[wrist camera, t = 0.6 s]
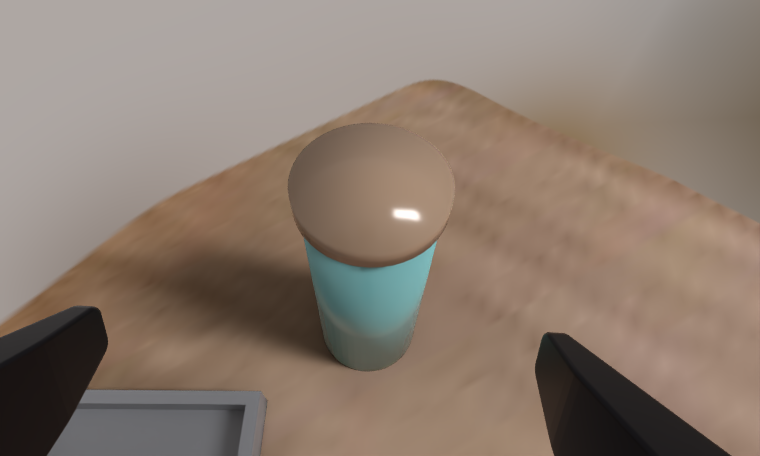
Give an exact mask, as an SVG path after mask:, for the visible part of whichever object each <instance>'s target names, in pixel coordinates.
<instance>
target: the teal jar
mask: <svg viewBox="0 0 760 456" xmlns="http://www.w3.org/2000/svg"><path fill="white" fill-rule="evenodd" d="M288 194H289V200H290V204H291V209H292V213H293V217H294V220H295V223H296V225H297V227H298V229H299V231H300V232H301V234H302V235H303V237H304V242H305V247H306V251H307V256H308V261H309V266H310V271H311V276H312V281H313V286H314V291H315V296H316V301H317V306H318V311H319V316H320V321H321V326H322V331H323V336H324V339H325V343H326V345H327V347H328V349H329V351H330V352H331V354H332V355H333V356H334V357H335V358H336V359H337V360H338V361H339V362H341V363H342V364H343V365H345V366H347V367H349V368H352V369H355V370H359V371H376V370H381V369H384V368H386V367H388V366H391V365H392V364H394V363H395V362H397V361H398V360H399V359H400V358H401V357H402V356H403V355H404V353H405V352H406V350H407V349H408V347H409V345H410V342H411V339H412V335H413V331H414V327H415V324H416V320H417V316H418V312H419V308H420V304H421V300H422V296H423V292H424V289H425V285H426V281H427V277H428V273H429V269H430V265H431V261H432V257H433V254H434V250H435V246H436V242H437V240H438V238H439V237H440V236H441V234H442V233H443V231H444V229H445V227H446V225H447V222H448V219H449V216H450V212H451V208H452V205H453V201H454V195H455V182H454V177H453V173H452V171H451V168H450V166H449V164H448V162H447V160H446V159H445V157H444V156H443V155H442V153H441V152H440V151H439V150H438V149H437V148H436V147H435V146H434V145H433V144H431V143H430V142H429V141H428V140H426V139H424V138H423V137H421V136H420V135H418V134H416V133H414V132H412V131H409V130H406V129H404V128H401V127H397V126H393V125H387V124H379V123H361V124H353V125H348V126H343V127H340V128H337V129H334V130H332V131H329V132H327V133H325V134H323V135H321V136H320V137H318V138H316V139H315V140H314V141H312V142H311V143H310V144H309V145H307V146H306V147H305V148H304V149H303V150H302V152H301V153H300V154H299V155H298V157H297V158H296V160H295V162H294V164H293V166H292V168H291V171H290V175H289V179H288Z"/></svg>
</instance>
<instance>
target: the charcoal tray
mask: <svg viewBox="0 0 760 456" xmlns="http://www.w3.org/2000/svg"><path fill="white" fill-rule="evenodd" d="M266 408H267V399H266V398H265V396H264V395H263V394H262V392H261V391H176V390H86V391H85V393H84V395H83V397H82V399H81V401H80V402H79V404H78V406H77V408H76V410H75V412H74V414H73V415H72V417H71V419H70V421H69V422H68V424H67V426H66V427H65V429H64V430H63V432H62V434H61V435H60V437H59V438H58V440H57V441H56V443H55V444H54V446H53V447H52V449H51V451H50V452H49V454H48V455H47V456H260V452H261V445H262V437H263V430H264V422H265V415H266Z"/></svg>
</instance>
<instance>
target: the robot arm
mask: <svg viewBox="0 0 760 456" xmlns="http://www.w3.org/2000/svg"><path fill="white" fill-rule="evenodd" d="M107 346H108V337H107V334H106V330H105V326H104V322H103V319H102V315H101V312H100V310H99V309H98V308H96V307H93V306H74V307H71V308H69V309H66V310H64V311H61V312H59V313H57V314H54V315H52V316H50V317H47V318H45V319H43V320H40V321H38V322H36V323H33V324H31V325H29V326H26V327H24V328H22V329H19V330H17V331H15V332H12V333H10V334H8V335H5V336H3V337H0V456H47V455H48V454H49V452H50V451H51V449H52V447H53V446H54V444H55V443H56V441H57V440H58V438H59V437H60V435H61V434H62V432H63V430H64V429H65V427H66V426H67V424H68V422H69V421H70V419H71V417H72V415H73V414H74V412H75V410H76V408H77V406H78V404H79V402H80V401H81V399H82V397H83V395H84V393H85V391H86V389H87V387H88V385H89V383H90V381H91V379H92V377H93V375H94V373H95V372H96V370H97V368H98V366H99V364H100V362H101V360H102V358H103V356H104V354H105V352H106V350H107ZM535 375H536V380H537V384H538V389H539V394H540V398H541V403H542V407H543V412H544V416H545V421H546V426H547V430H548V435H549V439H550V443H551V447H552V450H553V453H554V456H731V455H730V454H728V453H727V452H726V451H724V450H723V449H722V448H720V447H719V446H718V445H716V444H715V443H714V442H712V441H711V440H709V439H708V438H707V437H705V436H704V435H703V434H701V433H700V432H699V431H697V430H696V429H695V428H693V427H692V426H691V425H689V424H688V423H686V422H685V421H684V420H682V419H681V418H680V417H678V416H677V415H676V414H674V413H673V412H672V411H670V410H669V409H668V408H666V407H665V406H664V405H662V404H661V403H659V402H658V401H657V400H655V399H654V398H653V397H651V396H650V395H649V394H647V393H646V392H645V391H643V390H642V389H641V388H639V387H638V386H636V385H635V384H634V383H632V382H631V381H630V380H628V379H627V378H626V377H624V376H623V375H622V374H620V373H619V372H618V371H616V370H615V369H613V368H612V367H611V366H609V365H608V364H607V363H605V362H604V361H603V360H601V359H600V358H599V357H597V356H596V355H595V354H593V353H592V352H590V351H589V350H588V349H586V348H585V347H584V346H582V345H581V344H580V343H578V342H577V341H576V340H574V339H573V338H572V337H570V336H569V335H567V334H565V333H553V332H547V333H545V334H544V335H543V337H542V340H541V344H540V348H539V352H538V356H537V360H536V364H535Z"/></svg>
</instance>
